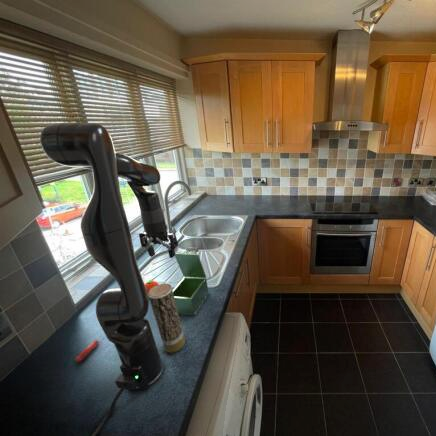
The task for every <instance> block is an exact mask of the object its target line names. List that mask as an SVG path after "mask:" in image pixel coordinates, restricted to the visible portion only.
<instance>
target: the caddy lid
mask: <svg viewBox="0 0 436 436" xmlns="http://www.w3.org/2000/svg"><path fill="white" fill-rule="evenodd" d="M199 251H200V250H199V247H189V246H188V247H185V251H184V252H175V255H174V257H175V260H176V262H177V264H178V267H179V270H180V272H181V273H182V276H183V278H184V277H193V278H206V279H207V275H206V272H205V270H204V269H205V268H204V267H203V264H202V261H201V258H200V255H199V253H198V252H199ZM190 252H193V253H190Z"/></svg>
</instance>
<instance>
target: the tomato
mask: <svg viewBox="0 0 436 436" xmlns="http://www.w3.org/2000/svg"><path fill="white" fill-rule="evenodd" d="M144 284H145V287H146V290H147V293H148V292H149V290H150V289H151V288H153V287H154V286H156V285H159V283H158V282H157V281H155V280H154V279H150V280H148V281H146V282H144Z"/></svg>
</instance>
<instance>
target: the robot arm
mask: <svg viewBox="0 0 436 436" xmlns="http://www.w3.org/2000/svg"><path fill="white" fill-rule="evenodd" d="M39 140H40V145H41V148H42V150H43V153H44V154H45V155H46V156H47V157H48V158H49V159H50V160H51V161H52V162H54V163H56V164H58V165H61V166H65V167H70V168H71V167H72V168H81V169H87V170H91V171H92V176H93V191H92V195H91V197H90V199H89V202H88V203H87V206H86V208H85V210H84V212H83V214H82V217H81V220H80V230H81V235H82V238H83V240H84V244H85V247H86V250H87V252H88V253H89V255H90V256H91V257H92V258H93V259H94V260H95V261H96V262H97V263H98V264H99V265H100V266H101V267H102V268H104V269H105V270H106V271H107V272H108V273H109V274H110V275H111V276H112V277H113V278H114V279H115V281H116V282H117V285H118V286H119V287H114V288H109V289H106V290H105V291H103V292H102V293H101V294H100V295H99V297H98V298H97V301H96V304H95V315H96V318H97V321H98V324H99V326H100V327H101V329H102V331H103V333H104V335H105V337H106V338H107V340H108V341H109V342H110V343H111V344H113V345H114V348H115V350H116V352H117V354H118V357H119V360H120V362H121V365H120V366H119V369H120V372H121V373H120V374H119V375H118V376H117V378H116V379H115V381H114V382H115V384H116V387H117V389H119V390H118V392H117V394H116V395H115V396H114V398H113V400H112V402H111V403H110V407H109V409H108V411H107V412H106V414H105V416H104V417H103V419H102V420H101V422H100V424H99V425H98V426H97V428H96V429H95V430H94V432H93V433H92V434H91V436H97V435H98V434H99V432H100V431H101V430H102V429H103V427H104V425H105V423H107V420H108V419H109V417H110V416H111V414H112V412H113V411H114V409H115V406H116V403H117V402H118V400H119V398H120V396H122V393H123V392H124V390H130V391H131V390H132V391H136V390H140V391H141V390H142V391H147V390H148V389H149V387H150V386H152V385H154V384H155V383H156V382H157V381H158V380H159V379H160V378H161V376H162V375H163V373H164V368H165V367H164V363H163V361H162V358H161V355H160V352H159V348H158V346H157V343H156V340H155V337H154V334H153V330H152V328H151V327H152V326H151V324H150V322H149V320H148V319H147V318H145V317H146V316H147V314H148V311H149V307H150V300H149V296H148V293H147V290H146V287H145V282H144V279H143V276H142V274H141V271H140V268H139V264H138V261H137V257H136V252H135V248H134V244H133V239H132V233H131V229H130V224H129V221H128V218H127V215H126V214H127V213H126V210H125V206H124V205H125V204H124V201H123V197H122V193H121V187H120V180H119V179H121V180H124V181H125V182H126V183H127V185H128V187H129V189H130V190H131V191H132V194H133V195H134V197H135V199H136V201H137V204H138V205H137V206H138V209H139V213H140V214H139V216H140V220H141V223H142V226H143V230H144V231H142V232H140V233H138V237H139V243H140V246H141V248H145V249H146V250H147V253H148V256H149V257H151V258H153V257H154V256H155V255H156V252H155V248H154V245H161V246H163V247H165V248H166V249H167V252H168V256H169V259H173V258H174V257H175V256H174V255H175V253H176V251H175V249H176V248H178V247H179V241H178V238H177V234H176V233H175V232H172V233H169V232H168V231H167V229H168V228H167V222H166V219H165V213H164V210H163V207H162V203H161V200H160V199H161V198H160V195H159V193H158V192H156V191H152V190H147V189H146V188H145V187H154V186H156V185H158V184H159V183H160V181H161V173H160V171H159V169H157V167H156V166H154V165H152V164H149V163H145V162H142V161H141V162H140V161H137V160H136V159H134V158H132V157H131V156H128V155H126V154H123V153H119V152H116V150H115V145H114V142H113V139H112V137H111V134H110V133H109V131H108V130H107V129H106V127H105V126H103V125H101V124H99V123H91V122H88V123H87V122H86V123H85V122H71V123H70V122H69V123H68V122H60V123H59V122H58V123H52V124H49V125H46V126H45V127H43V128H42V130H41V132H40V135H39Z"/></svg>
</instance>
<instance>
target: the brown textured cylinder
mask: <svg viewBox="0 0 436 436" xmlns="http://www.w3.org/2000/svg"><path fill="white" fill-rule="evenodd" d="M158 284H159V283H158ZM148 298H149V304H150V306H151V309H152V312H153V317H154V319H155V322H156V326H157V329H158V332H159V336H160V339H161V341H162V345H163V348H164V350H165V352H166V353H170V354H172V353H176V352H179V351H180V350H181V349H182V348H183V347H184V345H185V343H186V339H185V335H184V331H183V326H182V323H181V320H180V314H178V310H177V307H176V303H175V299H174V295H173V287H172V285H171V284H169V283H160V284H159V285H156V286H154V287H153V288H151V289H150V290H149V292H148Z"/></svg>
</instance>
